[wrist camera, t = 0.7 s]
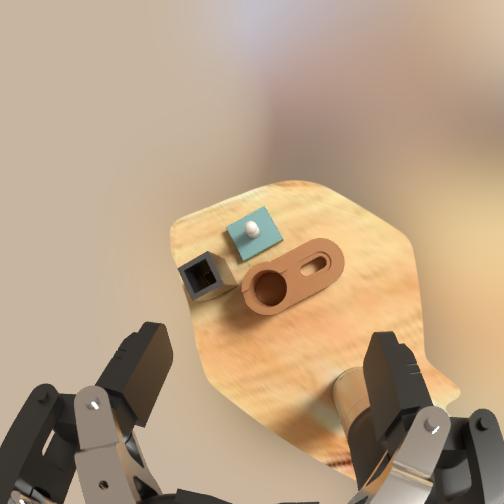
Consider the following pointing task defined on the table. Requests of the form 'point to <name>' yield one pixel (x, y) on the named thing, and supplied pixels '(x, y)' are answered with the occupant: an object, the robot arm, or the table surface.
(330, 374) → the table surface
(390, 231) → the table surface
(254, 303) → the bracket
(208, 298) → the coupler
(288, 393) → the table surface
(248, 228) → the shaft mount
